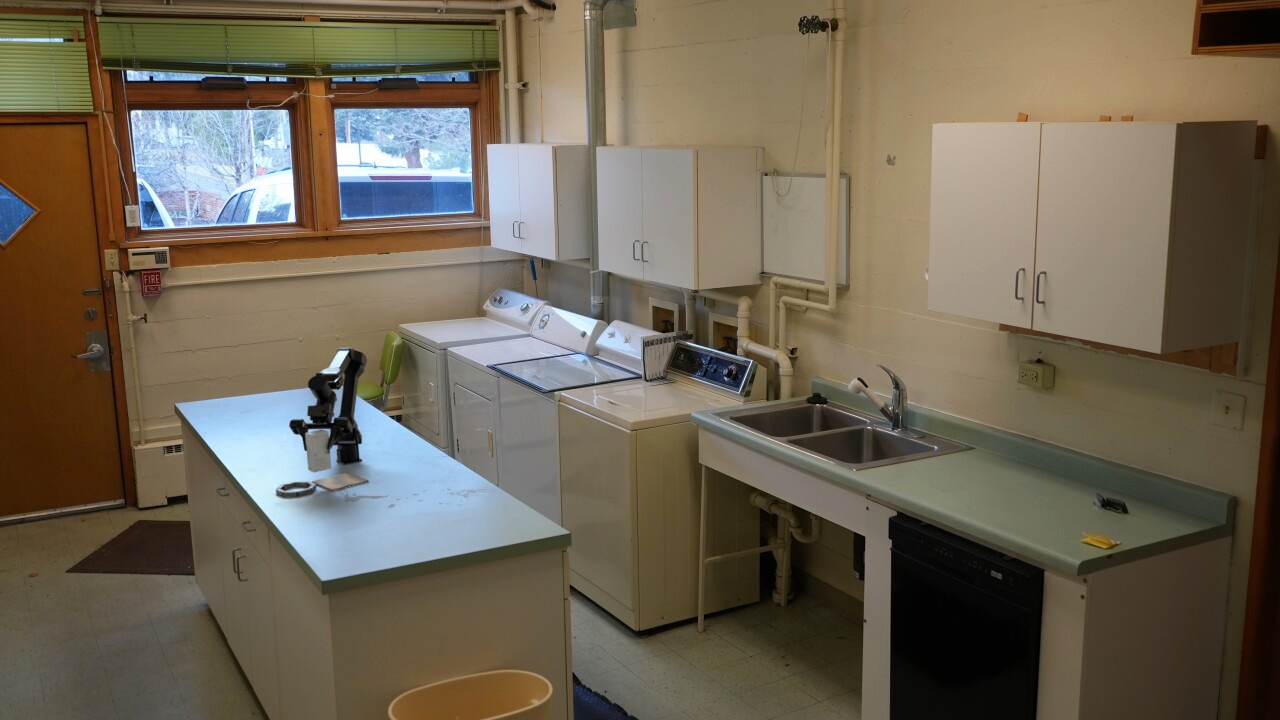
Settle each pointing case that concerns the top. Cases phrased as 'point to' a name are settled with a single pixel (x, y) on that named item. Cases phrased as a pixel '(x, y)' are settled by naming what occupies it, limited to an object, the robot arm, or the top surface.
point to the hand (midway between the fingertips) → (316, 450)
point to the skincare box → (318, 450)
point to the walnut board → (339, 481)
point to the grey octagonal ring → (309, 490)
